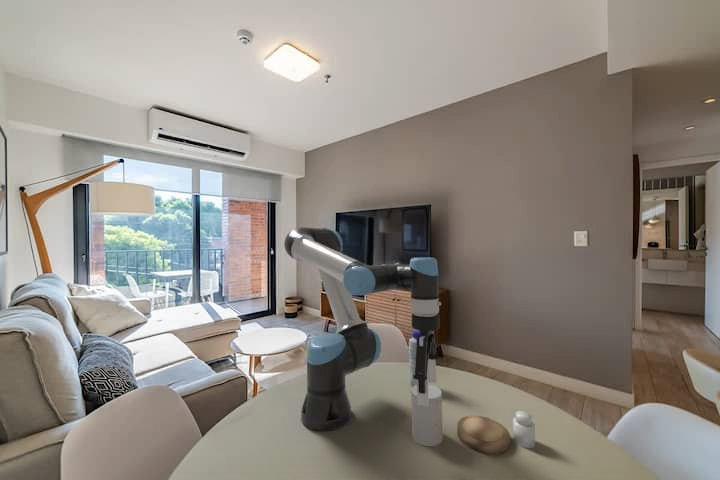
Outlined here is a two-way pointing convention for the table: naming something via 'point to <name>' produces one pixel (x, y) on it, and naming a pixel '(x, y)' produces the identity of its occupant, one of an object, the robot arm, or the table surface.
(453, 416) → the table surface
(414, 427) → the white cylindrical piece
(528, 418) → the white knobbed rounded part
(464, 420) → the brown wooden plate
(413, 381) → the bottle
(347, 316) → the robot arm
